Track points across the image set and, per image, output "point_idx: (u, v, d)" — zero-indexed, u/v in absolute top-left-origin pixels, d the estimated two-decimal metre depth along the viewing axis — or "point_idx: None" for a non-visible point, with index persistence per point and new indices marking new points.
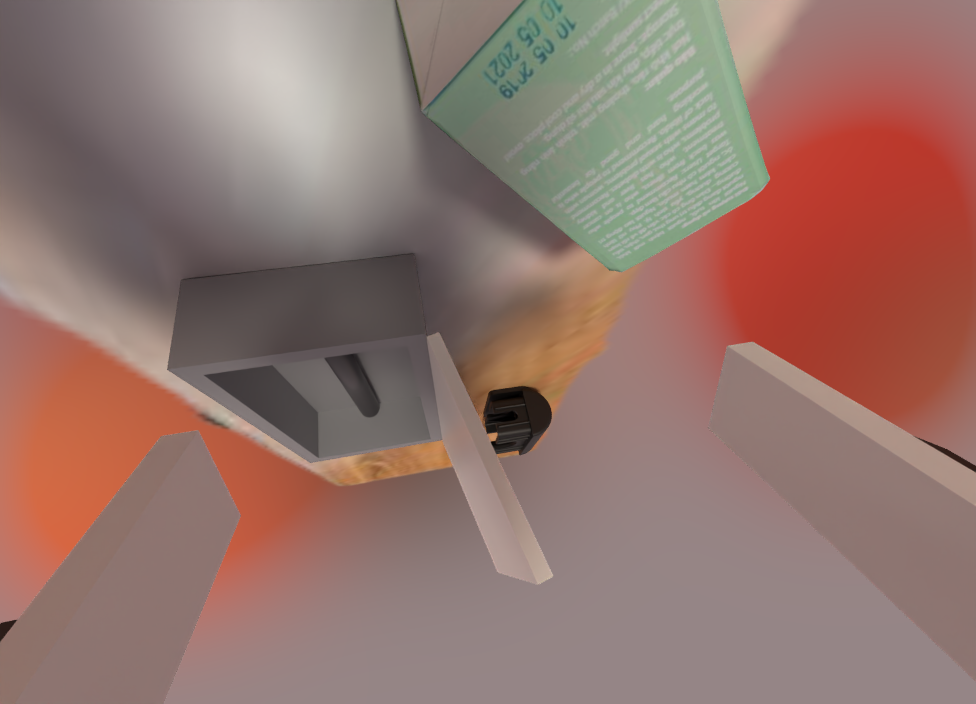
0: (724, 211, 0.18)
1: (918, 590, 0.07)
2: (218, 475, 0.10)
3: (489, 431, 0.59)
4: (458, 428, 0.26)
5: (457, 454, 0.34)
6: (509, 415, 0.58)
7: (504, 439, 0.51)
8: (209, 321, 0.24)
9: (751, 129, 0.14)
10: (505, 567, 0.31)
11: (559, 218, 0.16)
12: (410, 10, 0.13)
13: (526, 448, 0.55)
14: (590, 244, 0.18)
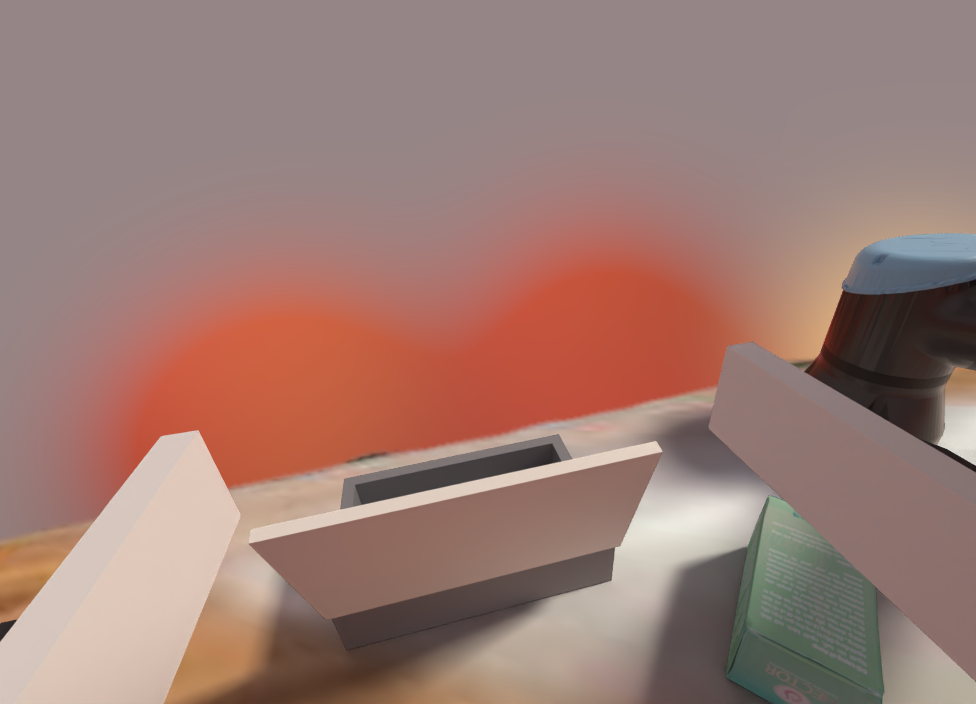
0: (844, 672, 0.25)
1: (918, 590, 0.07)
2: (218, 475, 0.10)
3: None
4: None
5: None
6: None
7: None
8: None
9: (877, 636, 0.27)
10: None
11: (762, 557, 0.32)
12: None
13: None
14: (758, 585, 0.30)
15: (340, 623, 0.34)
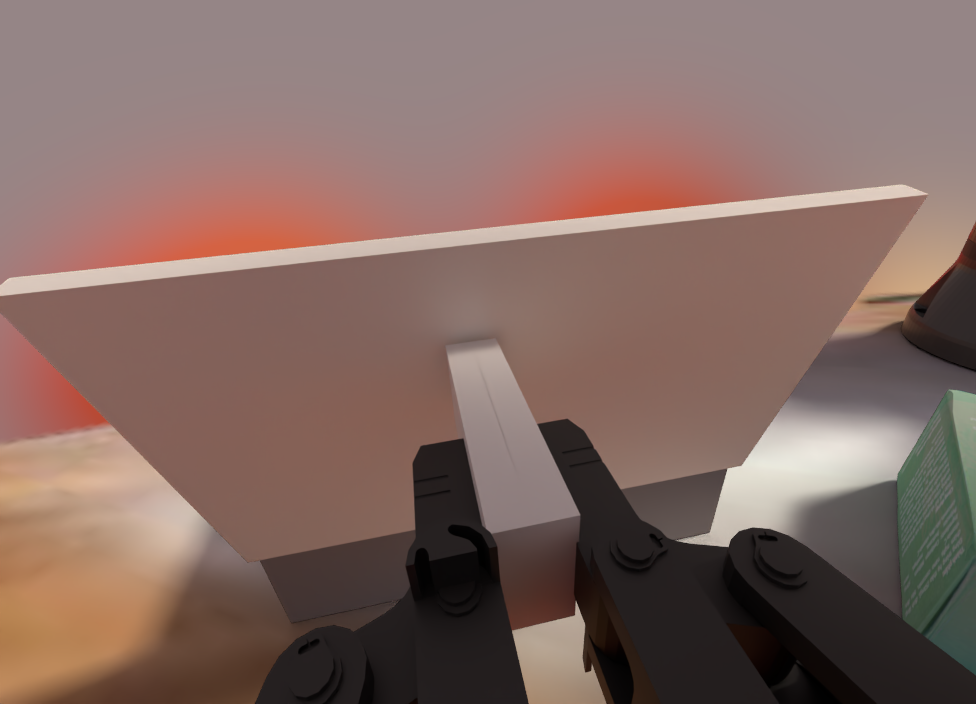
0: None
1: None
2: None
3: None
4: None
5: None
6: None
7: None
8: None
9: None
10: None
11: (971, 459, 0.19)
12: None
13: None
14: None
15: (277, 574, 0.20)
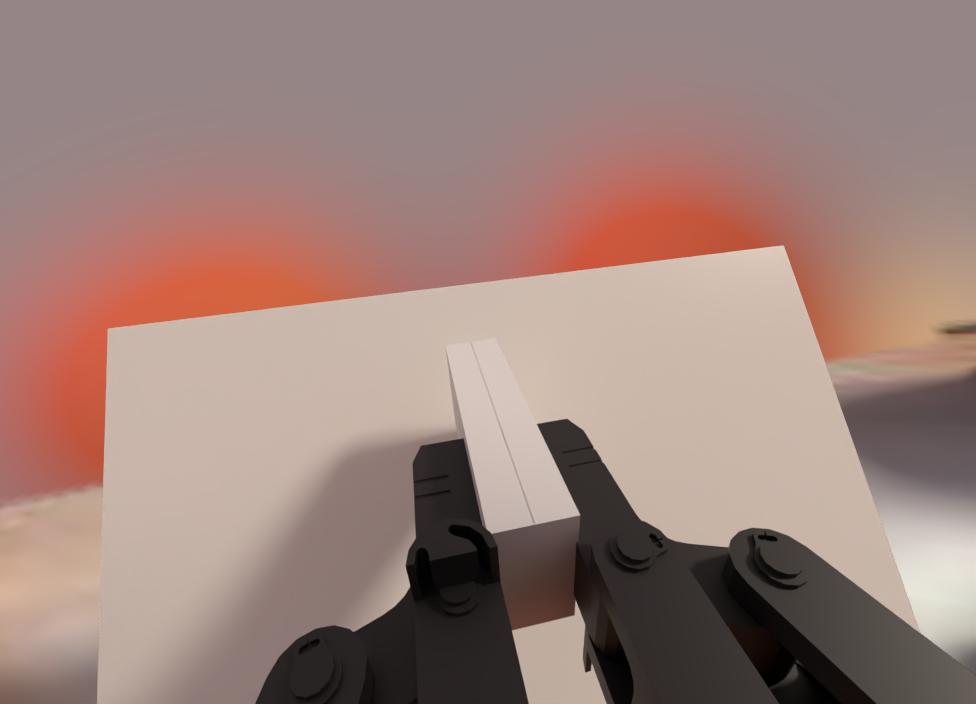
0: None
1: None
2: None
3: None
4: None
5: None
6: None
7: None
8: None
9: None
10: None
11: None
12: None
13: None
14: None
15: None
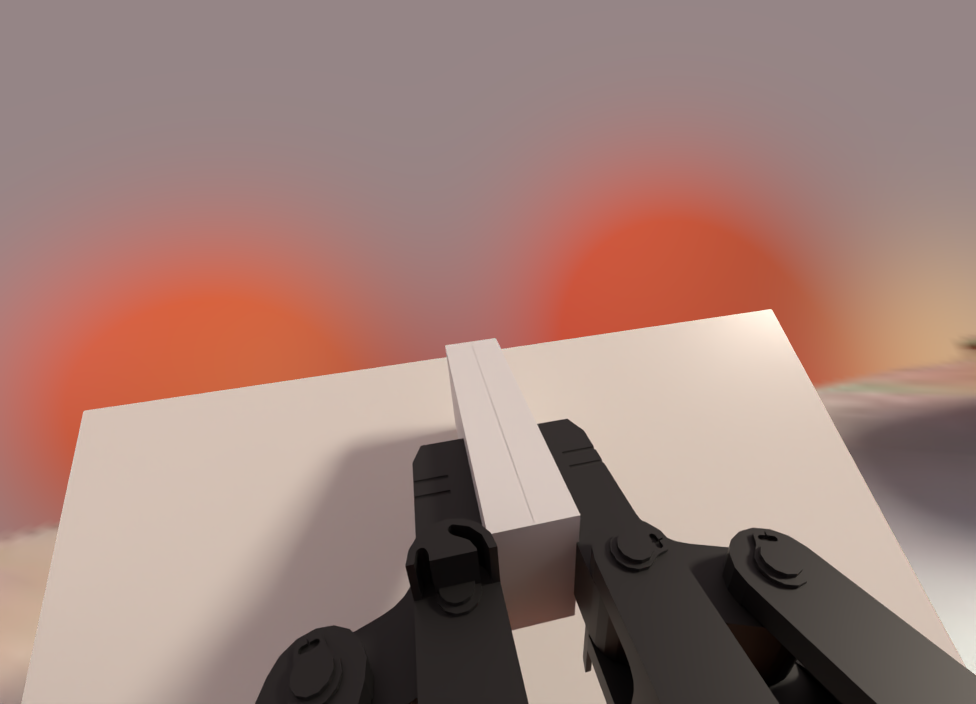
0: None
1: None
2: None
3: None
4: None
5: None
6: None
7: None
8: None
9: None
10: None
11: None
12: None
13: None
14: None
15: None
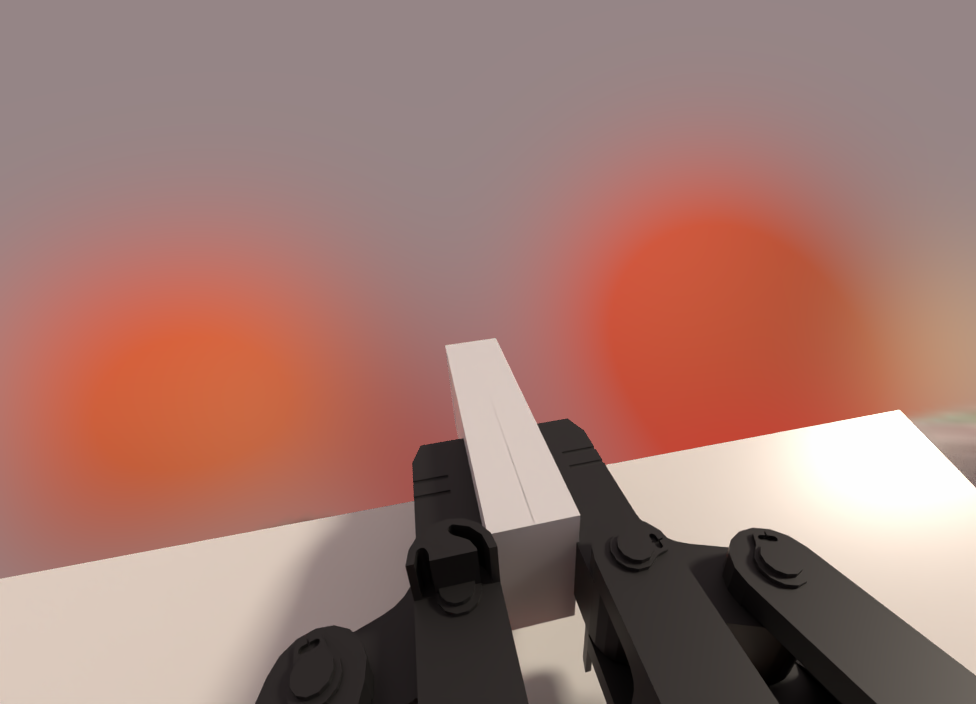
0: None
1: None
2: None
3: None
4: None
5: None
6: None
7: None
8: None
9: None
10: None
11: None
12: None
13: None
14: None
15: None
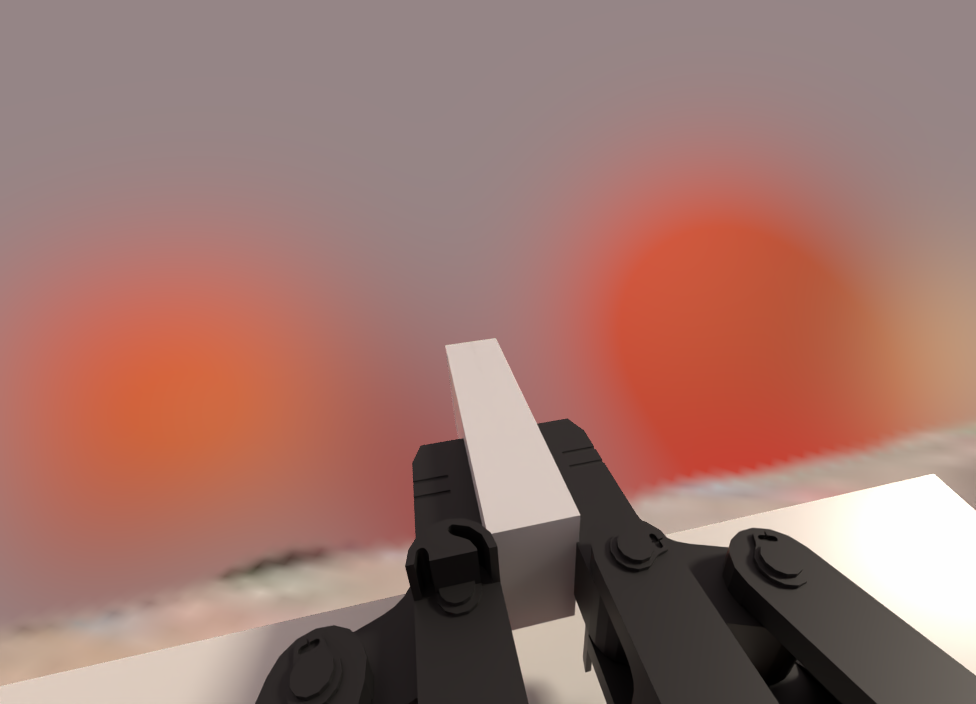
0: None
1: None
2: None
3: None
4: None
5: None
6: None
7: None
8: None
9: None
10: None
11: None
12: None
13: None
14: None
15: None
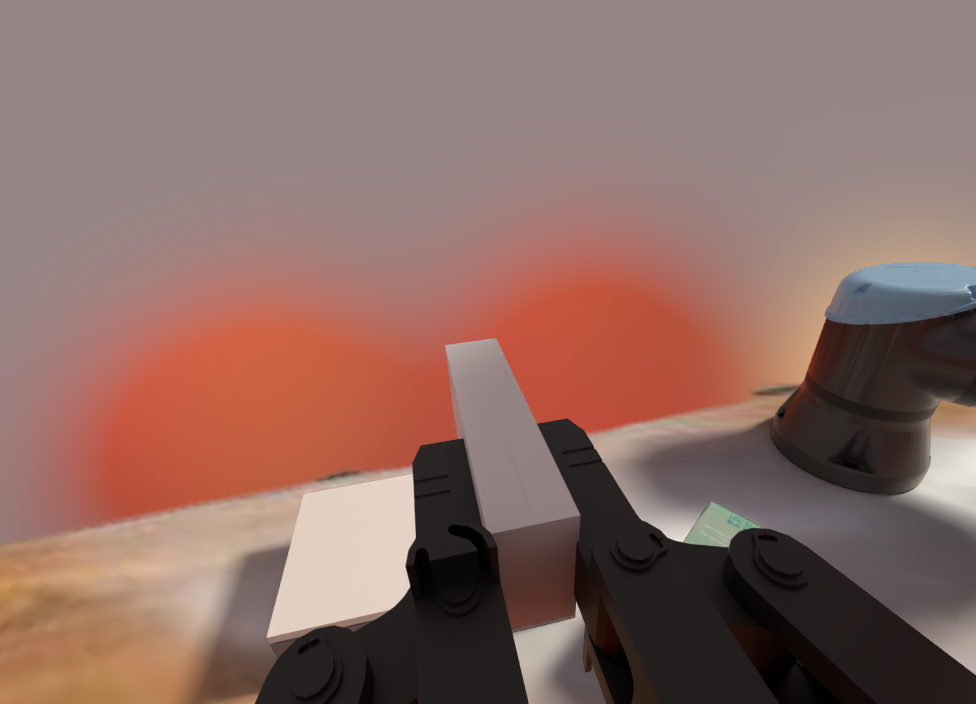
0: None
1: None
2: None
3: None
4: None
5: None
6: None
7: None
8: None
9: None
10: None
11: None
12: None
13: None
14: None
15: None
